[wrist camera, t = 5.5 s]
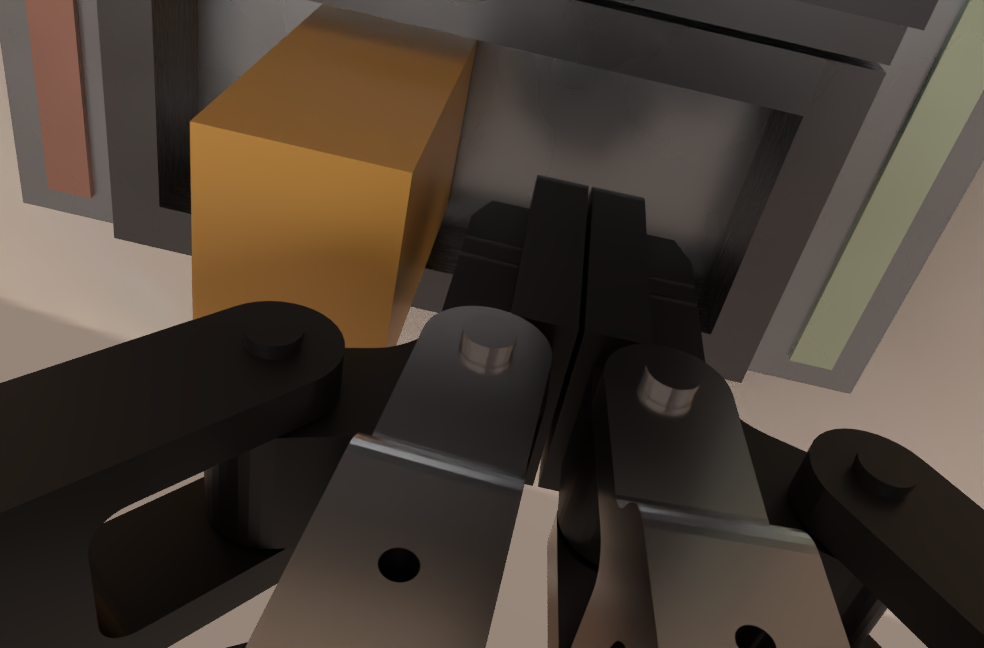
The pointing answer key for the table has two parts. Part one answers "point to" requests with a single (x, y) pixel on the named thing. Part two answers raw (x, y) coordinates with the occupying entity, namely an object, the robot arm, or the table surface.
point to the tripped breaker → (329, 172)
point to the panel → (581, 137)
